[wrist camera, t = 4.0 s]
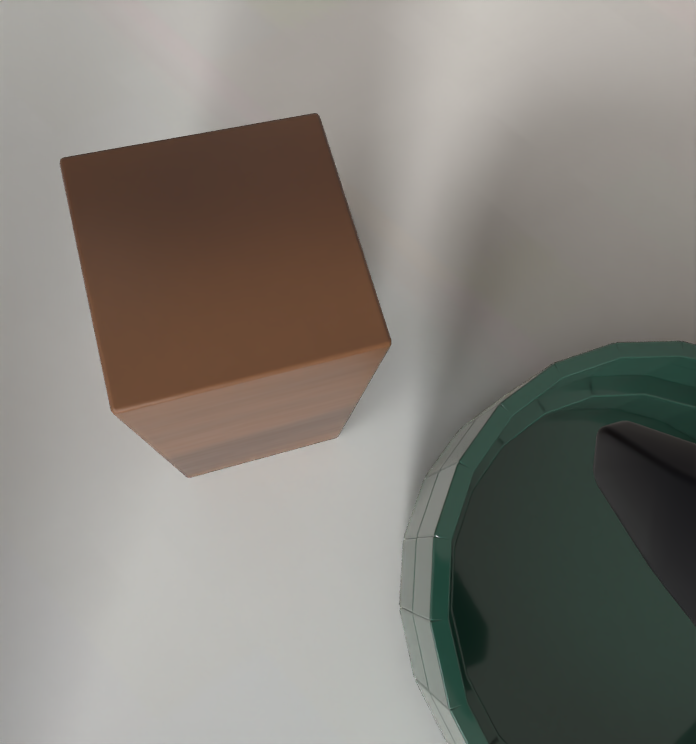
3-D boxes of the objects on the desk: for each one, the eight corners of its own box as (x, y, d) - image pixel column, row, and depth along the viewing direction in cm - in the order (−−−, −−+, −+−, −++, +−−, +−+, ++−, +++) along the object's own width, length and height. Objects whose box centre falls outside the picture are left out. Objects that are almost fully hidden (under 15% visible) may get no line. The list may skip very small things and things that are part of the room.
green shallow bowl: (646, 961, 18) (762, 1089, 14) (302, 586, 20) (310, 596, 16) (889, 593, 22) (1040, 603, 18) (582, 302, 24) (652, 247, 19)
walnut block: (338, 437, 21) (394, 344, 12) (186, 478, 20) (110, 414, 11) (298, 299, 22) (319, 110, 13) (153, 332, 21) (57, 156, 12)
